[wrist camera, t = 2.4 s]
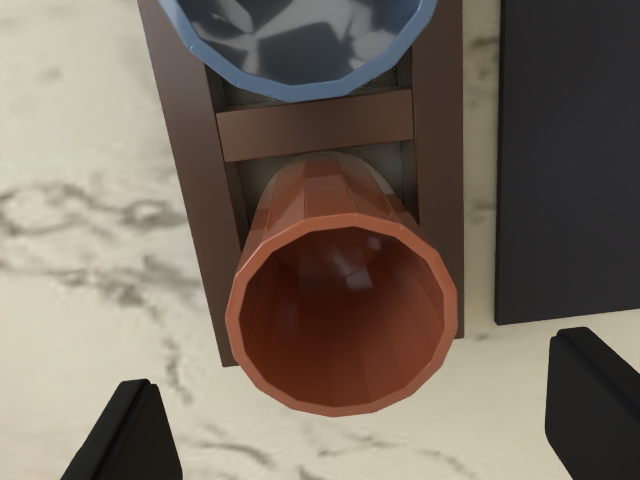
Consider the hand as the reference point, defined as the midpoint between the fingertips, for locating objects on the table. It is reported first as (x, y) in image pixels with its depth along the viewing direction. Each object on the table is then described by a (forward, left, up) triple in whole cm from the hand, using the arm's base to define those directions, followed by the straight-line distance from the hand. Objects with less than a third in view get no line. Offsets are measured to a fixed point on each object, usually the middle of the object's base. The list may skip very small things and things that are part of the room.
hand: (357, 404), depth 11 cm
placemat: (-3, +13, -13) cm, 19 cm away
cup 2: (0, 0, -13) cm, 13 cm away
